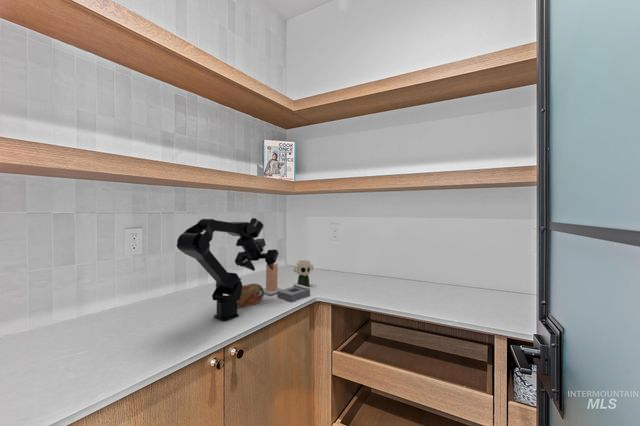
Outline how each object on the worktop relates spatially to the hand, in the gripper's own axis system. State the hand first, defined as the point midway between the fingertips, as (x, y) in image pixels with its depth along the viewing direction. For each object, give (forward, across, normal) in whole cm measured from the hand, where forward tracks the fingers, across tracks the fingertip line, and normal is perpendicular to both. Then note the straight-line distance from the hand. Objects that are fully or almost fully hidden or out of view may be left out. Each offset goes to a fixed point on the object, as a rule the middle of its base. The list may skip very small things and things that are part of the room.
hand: (263, 269), depth 123 cm
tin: (+2, +4, +17) cm, 17 cm away
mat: (+15, +1, +2) cm, 15 cm away
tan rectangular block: (+14, +1, +1) cm, 14 cm away
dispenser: (+14, -11, +5) cm, 19 cm away
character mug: (+25, -10, -8) cm, 28 cm away
